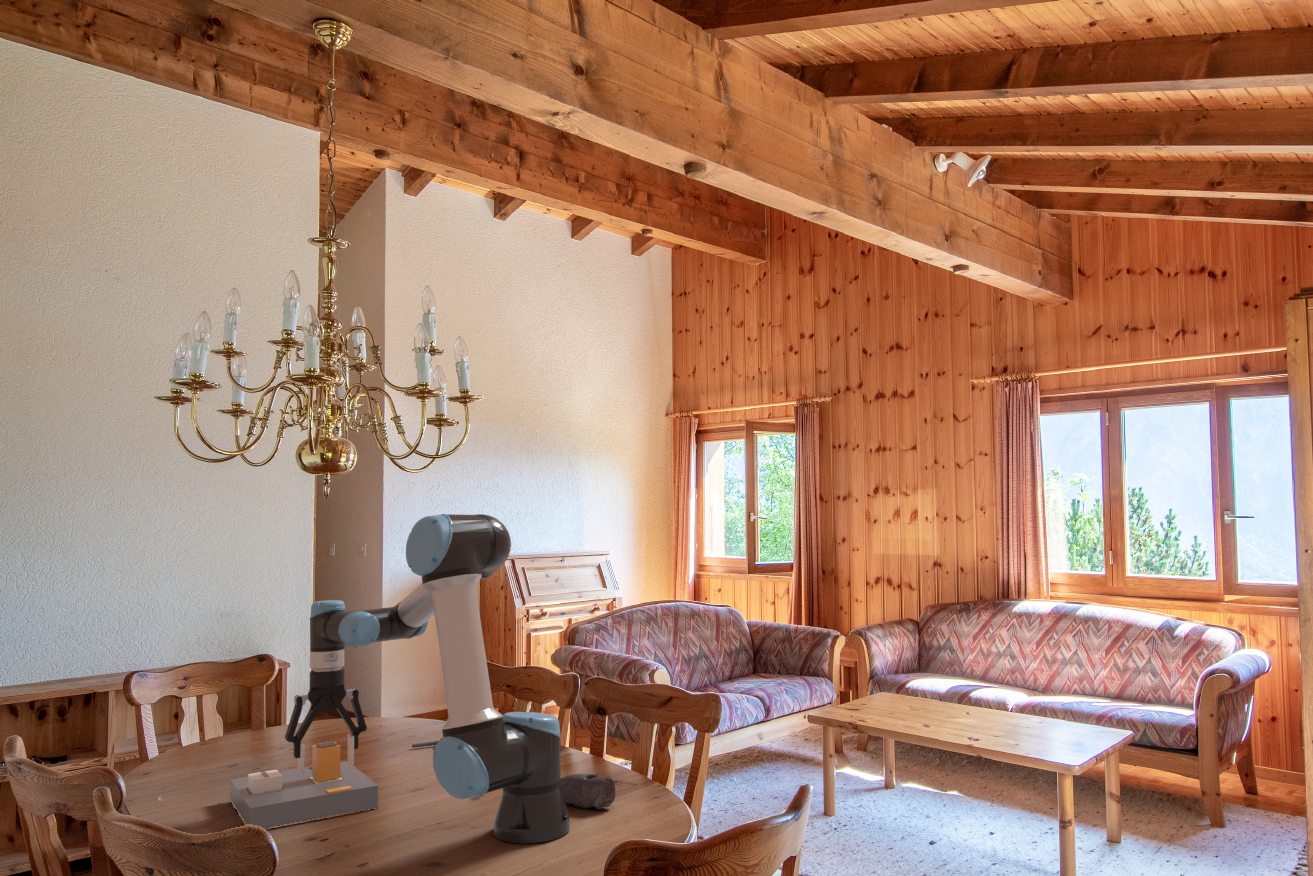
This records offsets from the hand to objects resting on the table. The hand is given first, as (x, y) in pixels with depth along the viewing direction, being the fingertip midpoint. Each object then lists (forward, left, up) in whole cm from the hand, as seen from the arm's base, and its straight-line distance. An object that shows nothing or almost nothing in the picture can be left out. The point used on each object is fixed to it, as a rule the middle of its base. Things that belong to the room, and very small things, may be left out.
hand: (326, 768), depth 206 cm
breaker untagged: (0, +13, -4) cm, 14 cm away
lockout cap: (0, 0, -2) cm, 2 cm away
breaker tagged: (0, 0, -7) cm, 7 cm away
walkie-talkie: (+30, -40, -8) cm, 51 cm away
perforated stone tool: (-39, -45, -8) cm, 60 cm away
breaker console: (0, +5, -7) cm, 9 cm away
